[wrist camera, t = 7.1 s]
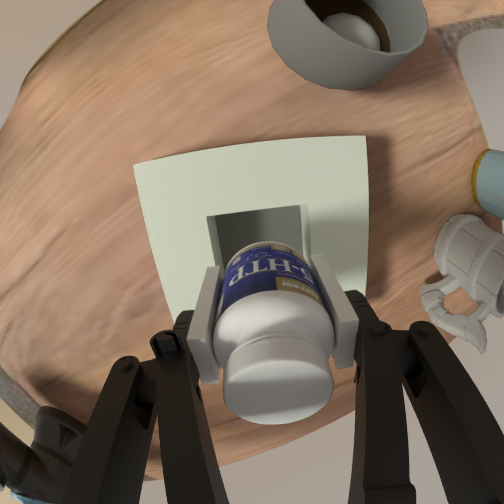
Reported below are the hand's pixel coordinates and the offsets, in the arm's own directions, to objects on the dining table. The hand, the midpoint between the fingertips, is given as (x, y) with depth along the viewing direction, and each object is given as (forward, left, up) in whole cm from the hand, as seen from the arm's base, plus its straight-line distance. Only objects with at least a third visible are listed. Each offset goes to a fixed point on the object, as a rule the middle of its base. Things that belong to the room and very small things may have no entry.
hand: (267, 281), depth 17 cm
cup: (+7, +16, -8) cm, 19 cm away
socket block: (0, 0, -8) cm, 8 cm away
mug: (+20, -5, -8) cm, 22 cm away
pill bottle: (0, 0, 0) cm, 0 cm away
